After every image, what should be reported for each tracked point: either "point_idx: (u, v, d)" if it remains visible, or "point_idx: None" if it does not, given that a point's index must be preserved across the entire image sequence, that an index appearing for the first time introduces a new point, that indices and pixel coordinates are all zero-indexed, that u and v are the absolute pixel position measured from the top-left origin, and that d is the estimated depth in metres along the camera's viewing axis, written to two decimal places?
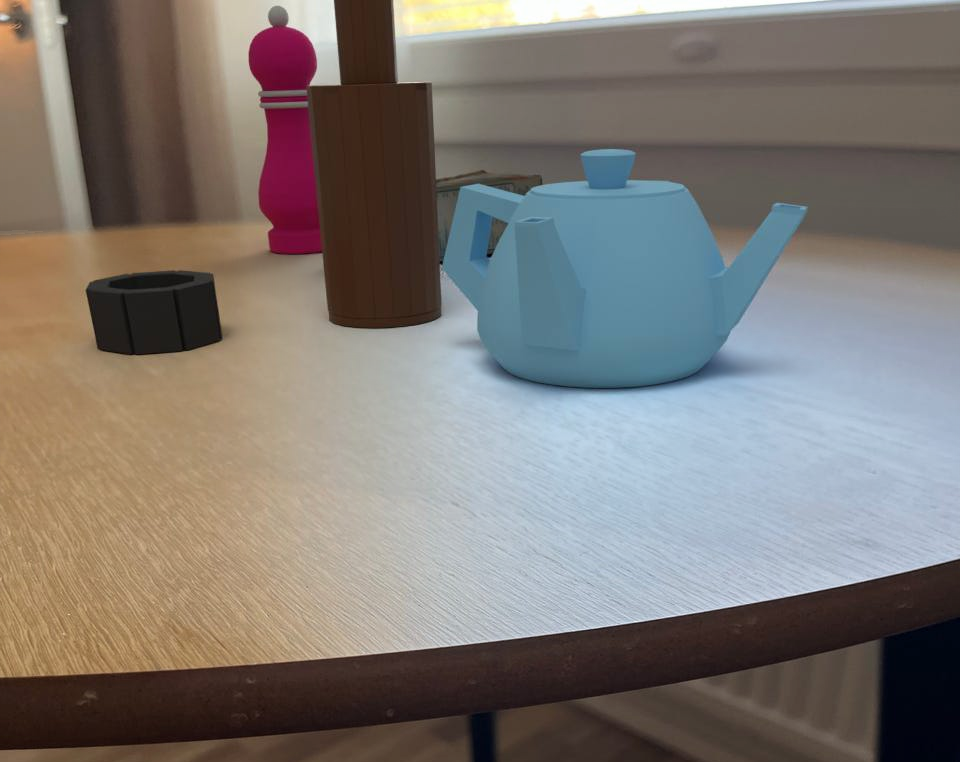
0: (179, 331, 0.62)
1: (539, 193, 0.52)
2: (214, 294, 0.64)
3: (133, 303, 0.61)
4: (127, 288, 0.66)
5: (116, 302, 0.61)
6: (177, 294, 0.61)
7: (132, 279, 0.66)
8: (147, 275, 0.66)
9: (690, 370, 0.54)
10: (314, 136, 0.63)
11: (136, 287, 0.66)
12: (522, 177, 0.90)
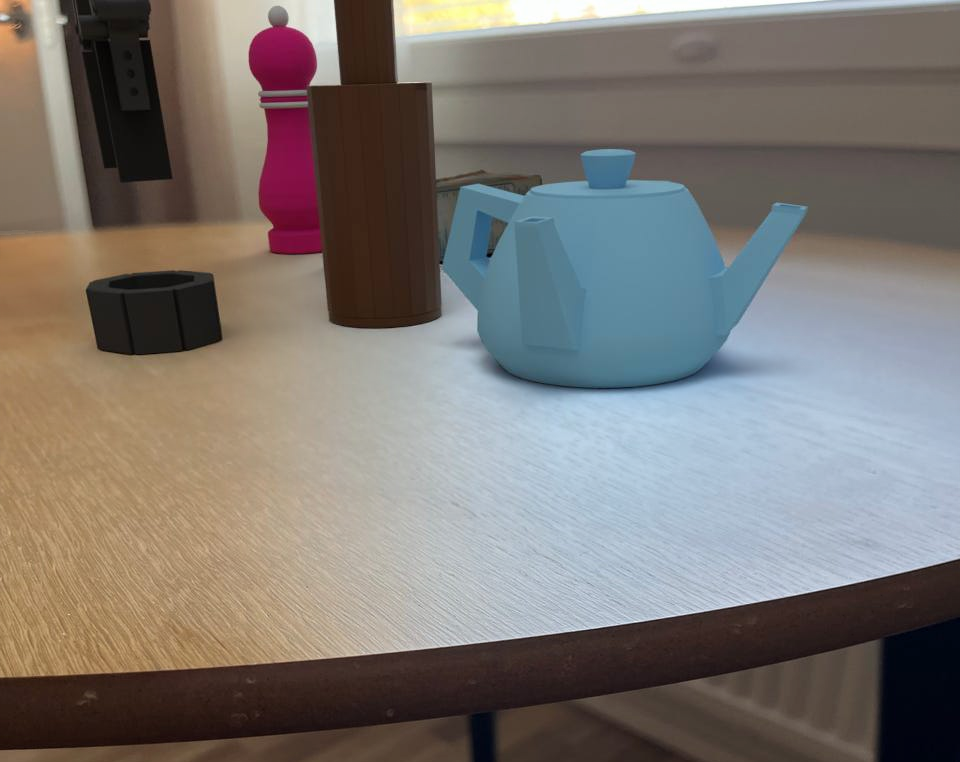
0: (179, 331, 0.62)
1: (539, 193, 0.52)
2: (214, 294, 0.64)
3: (133, 303, 0.61)
4: (127, 288, 0.66)
5: (116, 302, 0.61)
6: (177, 294, 0.61)
7: (132, 279, 0.66)
8: (147, 275, 0.66)
9: (690, 370, 0.54)
10: (314, 136, 0.63)
11: (136, 287, 0.66)
12: (522, 177, 0.90)
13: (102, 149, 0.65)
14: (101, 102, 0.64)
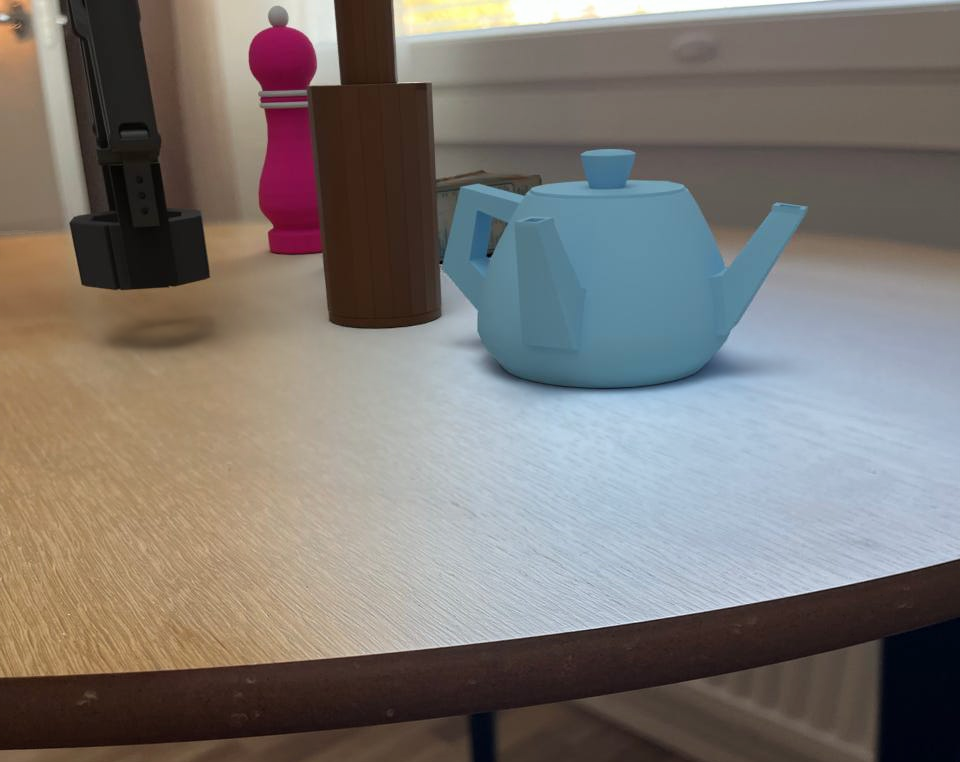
0: None
1: (539, 193, 0.52)
2: (202, 230, 0.62)
3: (118, 236, 0.59)
4: None
5: (100, 234, 0.59)
6: None
7: None
8: None
9: (690, 370, 0.54)
10: (314, 136, 0.63)
11: None
12: (521, 177, 0.90)
13: None
14: None
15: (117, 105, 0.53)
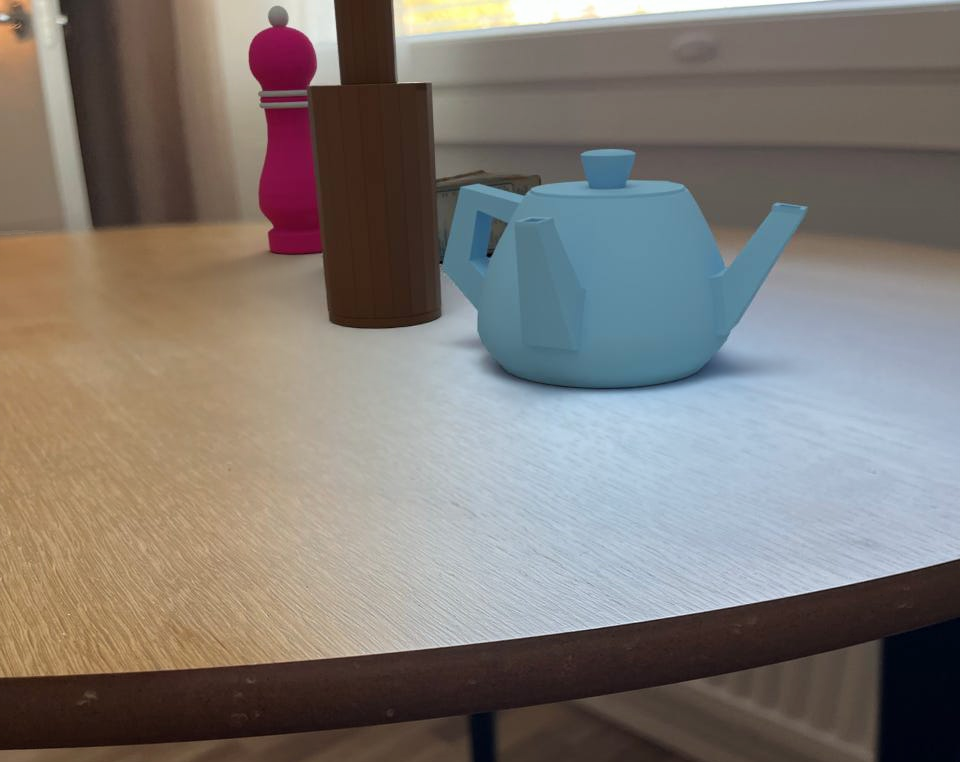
0: None
1: (539, 193, 0.52)
2: None
3: None
4: None
5: None
6: None
7: None
8: None
9: (690, 370, 0.54)
10: (314, 136, 0.63)
11: None
12: (521, 177, 0.90)
13: None
14: None
15: None
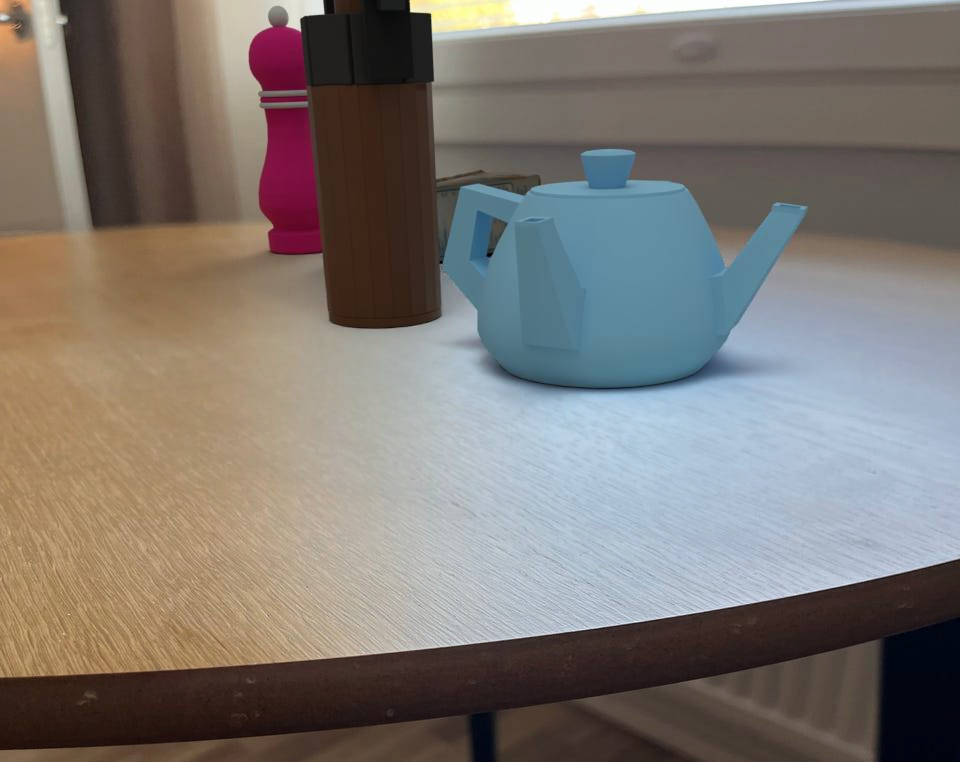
0: None
1: (539, 193, 0.52)
2: (430, 29, 0.62)
3: (358, 24, 0.59)
4: None
5: (340, 23, 0.59)
6: None
7: None
8: None
9: (690, 370, 0.54)
10: (314, 136, 0.63)
11: None
12: (520, 177, 0.90)
13: None
14: None
15: None
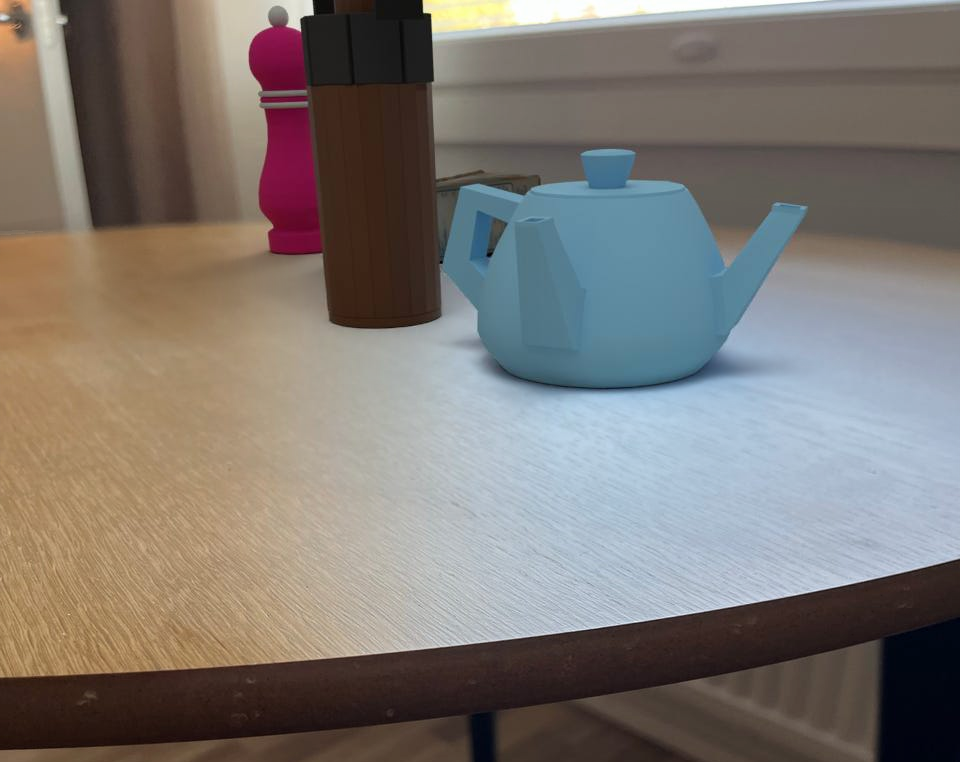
0: (400, 60, 0.60)
1: (539, 193, 0.52)
2: (430, 29, 0.62)
3: (358, 24, 0.59)
4: None
5: (340, 24, 0.59)
6: None
7: None
8: None
9: (690, 370, 0.54)
10: (314, 136, 0.63)
11: None
12: (520, 177, 0.90)
13: (317, 11, 0.66)
14: None
15: None
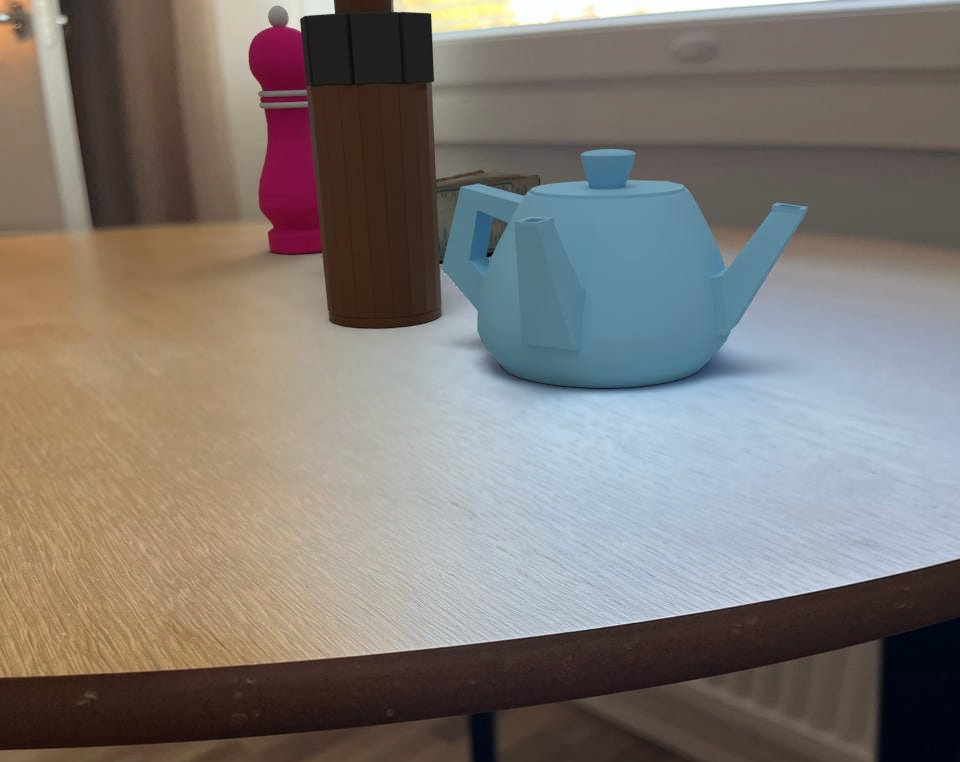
0: (400, 60, 0.60)
1: (539, 193, 0.52)
2: (430, 29, 0.62)
3: (358, 24, 0.59)
4: None
5: (340, 24, 0.59)
6: (401, 18, 0.59)
7: None
8: None
9: (690, 370, 0.54)
10: (314, 136, 0.63)
11: None
12: (520, 177, 0.90)
13: None
14: None
15: None
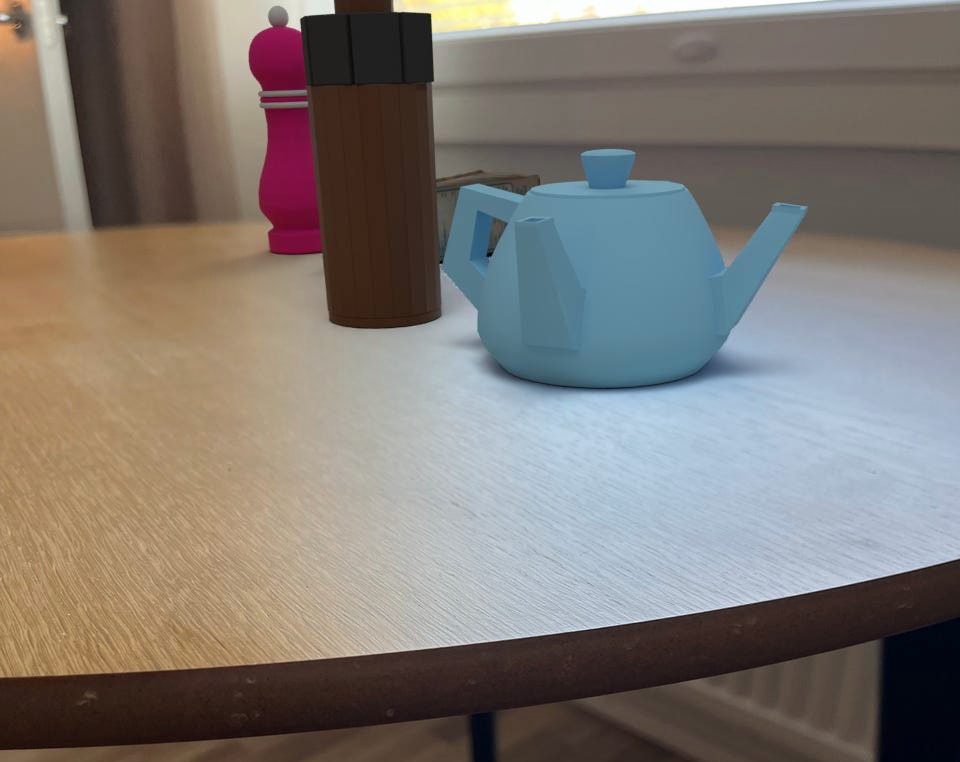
0: (400, 60, 0.60)
1: (539, 193, 0.52)
2: (430, 29, 0.62)
3: (358, 24, 0.59)
4: None
5: (340, 24, 0.59)
6: (401, 18, 0.59)
7: None
8: None
9: (690, 370, 0.54)
10: (314, 136, 0.63)
11: None
12: (520, 177, 0.90)
13: None
14: None
15: None
